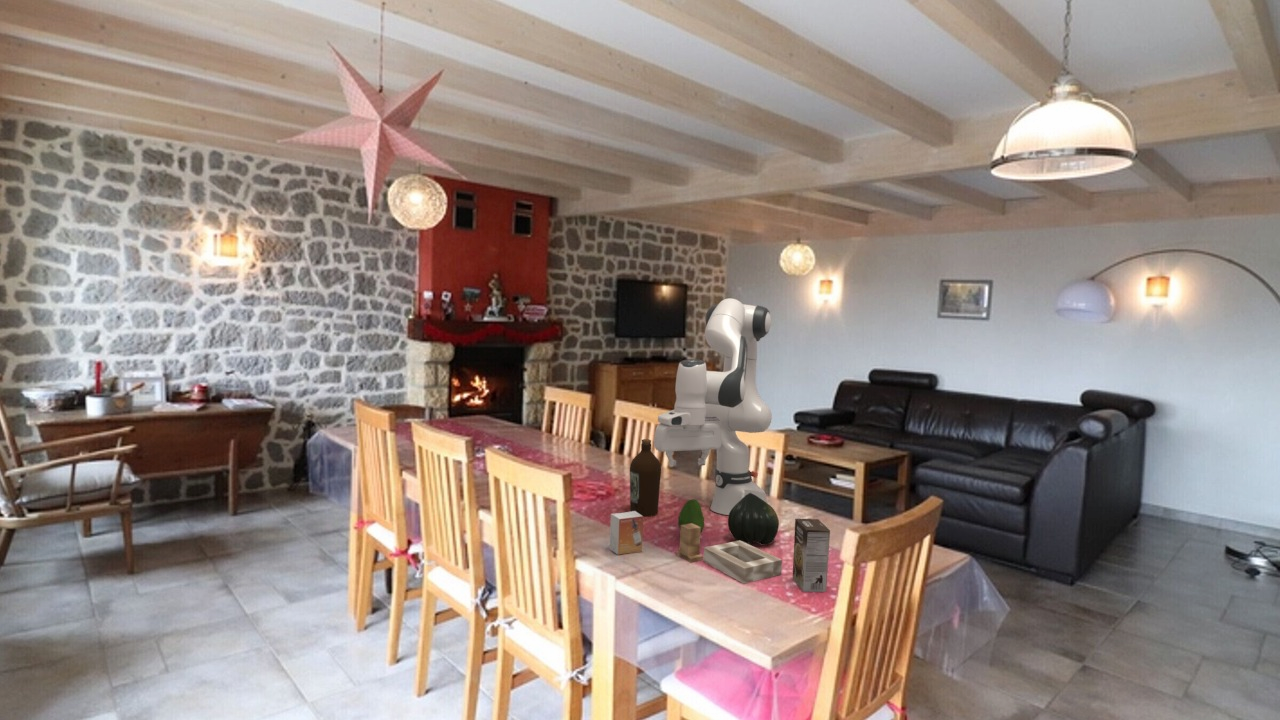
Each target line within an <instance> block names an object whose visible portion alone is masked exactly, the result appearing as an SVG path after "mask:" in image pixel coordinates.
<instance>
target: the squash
mask: <svg viewBox="0 0 1280 720" xmlns="http://www.w3.org/2000/svg"><path fill="white" fill-rule="evenodd" d="M767 503H768V502H767V501H766V502H765V501H763V500H762V499H760V498H759V497H757V496H756V495H754V494H752V493H749V494H747V495H746V496H745V497H743V498H742V499H741V500H740V501H739V502H738V503H737V504H736V505H735V506H734V507H733V508H732V509H731V511H730V513H729V515H728V518H727V526H728V529H729V533H730V534H731V535H732V536H731V537H733V539H735V541H739V540H740V541H743V542H745V543H747V544H754V543H758V544H759V545H762V546H768V545H771V544H772V542H773V541H774V540H775V538H776V536H777V534H778V532H779V528H780V527H779V525H780V522H779V521H780V520H779V517H778V514H777V512H776V511H775V508H774V507H773V506H772V507H773V508H772V507H771V506H770V505H771V504H770V503H768V504H767ZM769 504H770V505H769Z"/></svg>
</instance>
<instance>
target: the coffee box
mask: <svg viewBox="0 0 1280 720" xmlns="http://www.w3.org/2000/svg"><path fill="white" fill-rule="evenodd" d="M794 520H795V521H794V541H793V560H792V563H793V564H792V566H793V567H792V579H793V580H794V582H795V583H796V585H797V586H798V587H799V589H801V591H802V592H803V593H826V592H827V585H828V584H827V583H828V568H829V555H830V552H829V551H830V538H831V530H830V528H829V527H827V526H826V525H825V524H824V523H823V522H822V521H821V520H820V519H819V518H813V519H812V518H795V519H794Z"/></svg>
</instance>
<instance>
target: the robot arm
mask: <svg viewBox="0 0 1280 720" xmlns="http://www.w3.org/2000/svg"><path fill="white" fill-rule="evenodd" d="M771 326H772V316H771V313H770V310H769V309H768V308H767V307H765V306H761V305H757V306H756V305H752V304H745V303H744V304H743V303H742V302H741V301H740V300H738V299H737V298H724V299H722V300H721V301H720V302H719V303H718V304H713V305H711V306H710V307H709V308H708V309H707V311H706V314H705V329H704V338H705V341H706V343H707V345H708V346H709V347H710V348H711V350H714V351H715V352H716V353H718V354H722V355H724V359H723V370H722V371H715V370H707V363H706V361H704V360H701V359H698V358H697V359H696V358H693V359H692V358H690V359H684V360H681V361H680V362H679V363H678V367H677V371H676V377H675V378H676V379H675V388H674V389H675V397H676V399H675V402H674V409H672V410H670V411H667V412H664V413H661V414H659V415H658V417H657V422H658V423H659V424H657V425H656V428H655V431H654V438H653V447H654V448H655V450H656V451H658V452H665V455H666V457H667V459H668V467H670V468H676V467H677V460H676V459H674V458H673V455H674V452H684V451H685V452H686V451H701V453H702V454H701V457H700V458H697V464H698V466H705V465H706V460H707V458H708V457H709V456H710V453H711V452H710V451H712V450H716V468H715V472H714V483H715V485H714V492H713V497H712V501H711V504H710V508H709V509H710V510H711V511H712V512H715V513H717V514H720V515H725V516H729V513H730V511H731V509H732V508H733V507H734V506H735V505H736V504H737V503H738V502H739V501H740V500H741V499H742V498H743V497H745V496H746V495H747V494H749V493H752V494H754V495H756V496H757V497H759V498H760V499H762V500H763V501H765V502H766V503H767V504H769V505H770V506H771V507H772V508H773V509H774V507H773V505H772V504H770V503H769V502H767V495H766V492H765V491H764V490H763V488H761V487H760V485H758V484H757V483H755V482H754V481H753V478H758V475H759V473H758V472H757V471H754V470H752V471H751V470H749V469H750V448H749V447H748V445H747V444H746V443H745V442H744V441H742V440H740V438H739V437H738V435H737V433H736V432H741V433H750V434H754V433H755V434H756V433H764V432H765V431H767V430H768V428H769V427H770V425H771V423H772V420H773V419H772V418H773V417H772V412H771V409H770V407H769V406H768V404H766V403H765V402H764V400H763V399H762V398H761V396H760V394H759V392H758V389H757V384H756V378H757V377H756V373H757V361H758V359H757V358H758V342H760V341H761V339H762V338H764V337H765V336H767V334H769V331H770V329H771ZM752 477H753V478H752Z"/></svg>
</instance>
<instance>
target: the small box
mask: <svg viewBox="0 0 1280 720" xmlns="http://www.w3.org/2000/svg"><path fill="white" fill-rule="evenodd" d="M609 523H610V526H609V527H610V528H609V531H610V532H609V550H610V551H612V552H613V553H614V554H616V555H618V556H619V555H625V554H633V553H641V552H642V551H643V535H644V517H643V516H642V515H641V514H639V513H637V512H636V511H632V512H630V511H626V512H615V513H610V522H609Z"/></svg>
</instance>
